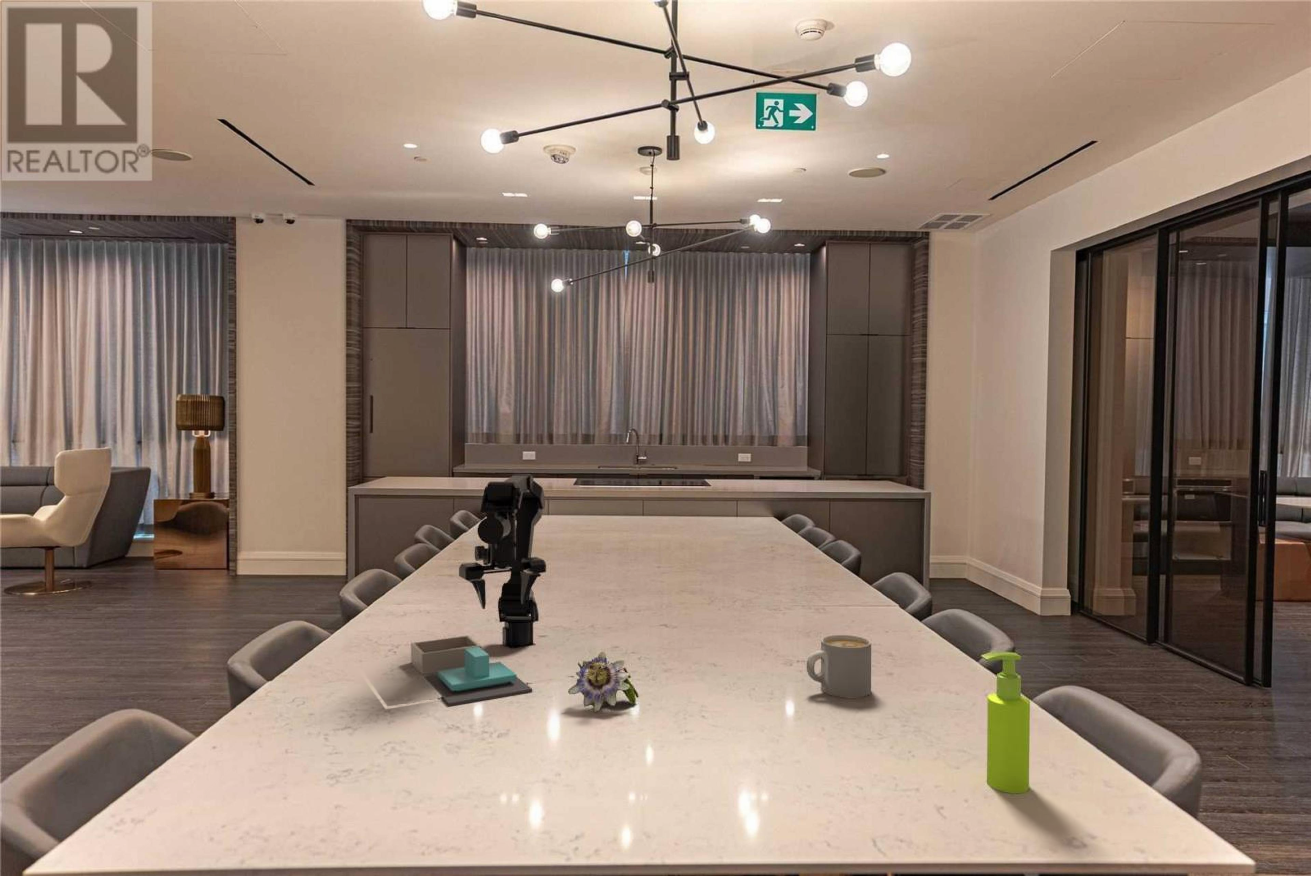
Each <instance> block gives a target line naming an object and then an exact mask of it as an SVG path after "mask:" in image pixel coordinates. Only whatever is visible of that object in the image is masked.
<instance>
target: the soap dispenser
mask: <svg viewBox="0 0 1311 876" xmlns="http://www.w3.org/2000/svg"><path fill="white" fill-rule="evenodd" d="M980 655H981V656H980V657H981V658H982V659H983V660H986V661H987V662H992V661H999V660H1002V671H1000V672H999V673H997V674H996V692H993V693H989V694H988V695H987V713H986V714H987V720H986V721H987V726H986V727H987V730H986V732H987V733H986V738H987V739H986V745H987V746H986V752H987V753H986V783H987V785H988V786H989V787H991V788H993V789H995V790H997V791H1000V792H1003V793H1009V794H1022V793H1025V792H1027V791H1029V789H1030V736H1031V735H1030V734H1031V733H1030V729H1031V725H1030V722H1031V720H1030V719H1031V717H1030V716H1031V713H1030V712H1031V711H1030V710H1031V700H1029V699H1028V697H1025V696H1023V695H1022V676H1021V675H1019V674H1017V672H1016V661H1021V660H1022V656H1021V655H1020V654H1018V653H1016V652H1011V651H1010V652H1009V651H992V652H988V653H984V654H980Z"/></svg>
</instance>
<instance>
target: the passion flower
mask: <svg viewBox="0 0 1311 876" xmlns="http://www.w3.org/2000/svg"><path fill="white" fill-rule="evenodd" d="M577 665H578V667H579V669H580V670H579V671H576V672H575V675H576V676H577V677H578V678H577V679H576V684H574V685H572V687H570V688H569V689H568V691H567V693H568V694H569V695H576V694H578V693H581V695H583V706H584V707H589V706H592V707H593V711H595V713H598V712H599V711H600V710H601V708H602V706H603V702H604V701H606V702H607V704H608V705H610V706H612V707H615V705H616V703H617V693H618V691H622V692H623V693H624V695H625V696H626V698H627V699H628V701H629V703H630V705H632V706H634V705H636V701H637V699H638V698H639V697H640V695H639V692H638V691H637V690H636V688H635V687H634V685H633V684H632V683H631V681H630V679H631V678H632V676H631V674H630V672H629V671H628V669H627V667H624V666H625V660H624V659H621V660H617V661H614V662H610V661H608V657H607V654H606V652H604V650H603V651H600V653H598V655H597V656H596V657H594V659H593V658H591V660H583V661H582V664H581V663H580V662H578V663H577ZM597 711H598V712H597Z"/></svg>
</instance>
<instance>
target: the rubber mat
mask: <svg viewBox="0 0 1311 876" xmlns="http://www.w3.org/2000/svg"><path fill="white" fill-rule="evenodd" d="M423 678H425V680H426V681H427V682H428V683H429V684H431V686H432V687H433V688H434V689H435V691H437V692H438V693H439V694H440V695H441V696H440V698H441V700H443V701H444V703H445V704H446V705H447V706H448V707H452V706H459V705H465V704H470V703H476V702H481V701H487V700H492V698H494V699H497V698H498V697H500V698H505V697H510V695H511V696H516V694H517V695H521V694H522V693H523V694H527V693H528V692H529V693H532V692H533V688H532V687H531V686H529V685H528V684H527V683H525V682H524V681H523V680H522V679H521V678H519V677H518V676H517V680H516V681H510V682H507V684H501V685H495V686H489V687H482V688H476V689H470V690H464V691H458V692H457V691H456V690H455V691H452V690H451V689H450V688H449V687H448V686H447V685H446V684H445V683H444V682H443V681H442V680H441V679H440V678H439V677H438V673H436V674H432V675H431V674H430V675H424V676H423ZM504 696H505V697H504ZM498 699H499V698H498Z"/></svg>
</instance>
